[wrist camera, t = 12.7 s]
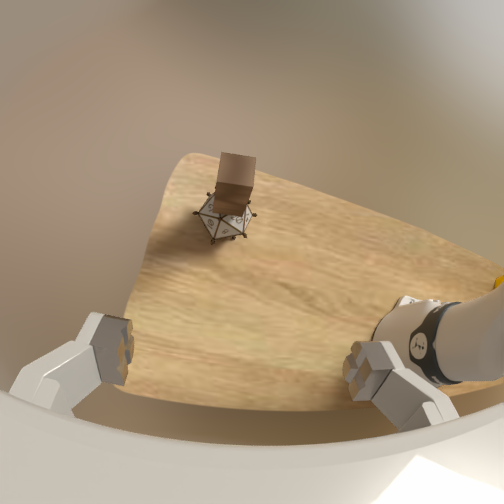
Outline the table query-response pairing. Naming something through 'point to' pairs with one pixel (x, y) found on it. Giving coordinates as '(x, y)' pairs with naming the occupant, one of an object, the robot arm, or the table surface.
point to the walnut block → (234, 184)
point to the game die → (223, 221)
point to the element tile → (498, 281)
